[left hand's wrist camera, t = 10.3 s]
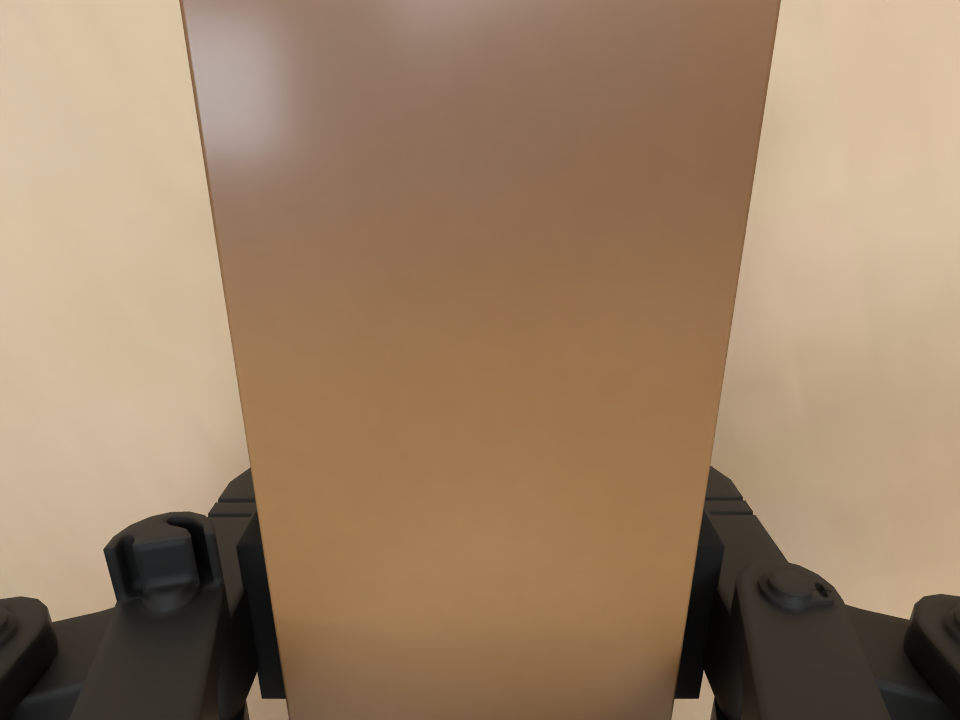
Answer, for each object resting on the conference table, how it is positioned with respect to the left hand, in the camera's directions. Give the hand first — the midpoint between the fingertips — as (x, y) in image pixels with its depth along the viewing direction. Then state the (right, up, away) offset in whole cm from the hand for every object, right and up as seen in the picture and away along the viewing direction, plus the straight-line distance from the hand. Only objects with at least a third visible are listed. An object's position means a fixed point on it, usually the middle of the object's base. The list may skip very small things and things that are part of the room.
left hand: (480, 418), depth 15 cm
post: (0, -19, +8) cm, 21 cm away
